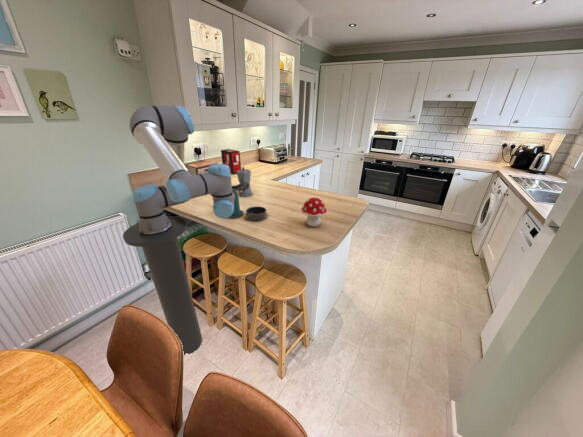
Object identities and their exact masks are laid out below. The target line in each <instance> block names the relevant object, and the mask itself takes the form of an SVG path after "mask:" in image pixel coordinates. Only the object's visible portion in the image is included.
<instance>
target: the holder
mask: <svg viewBox="0 0 583 437" xmlns="http://www.w3.org/2000/svg"><path fill="white" fill-rule="evenodd" d="M245 216H246V220H248V221H250V222H261V221H264V220H266V219H267V218H268V211H267V208H266V207H263V206H251V207H248V208H247V209H246V210H245Z"/></svg>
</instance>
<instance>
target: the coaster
mask: <svg viewBox="0 0 583 437" xmlns="http://www.w3.org/2000/svg"><path fill="white" fill-rule="evenodd" d="M243 215H244V211H243V210H241V209H240V214H238V215H236V216H230V217H228V218H227V219H230V220H232V219H238V218H242V216H243Z"/></svg>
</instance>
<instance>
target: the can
mask: <svg viewBox="0 0 583 437" xmlns="http://www.w3.org/2000/svg"><path fill="white" fill-rule="evenodd" d="M239 196H240V194H239V193H236V194H235V199H234V211H233V214H232V215H231V216H236V215H238V214H240V210H241V205H240V198H239Z"/></svg>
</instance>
